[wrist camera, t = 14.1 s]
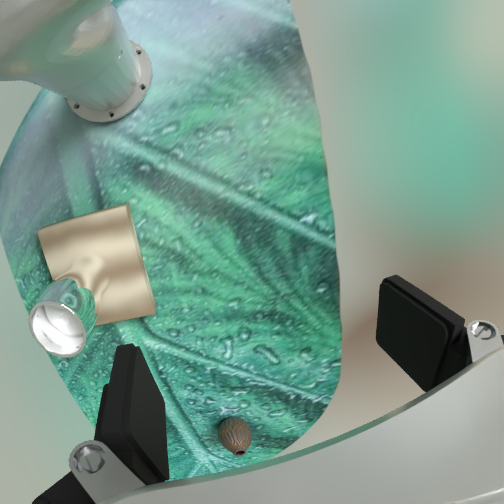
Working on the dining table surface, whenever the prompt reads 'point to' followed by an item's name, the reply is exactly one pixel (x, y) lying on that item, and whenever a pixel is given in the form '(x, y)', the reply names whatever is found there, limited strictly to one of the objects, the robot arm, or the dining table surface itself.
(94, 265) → the beer glass
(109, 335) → the dining table surface
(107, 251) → the plate
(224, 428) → the vase
